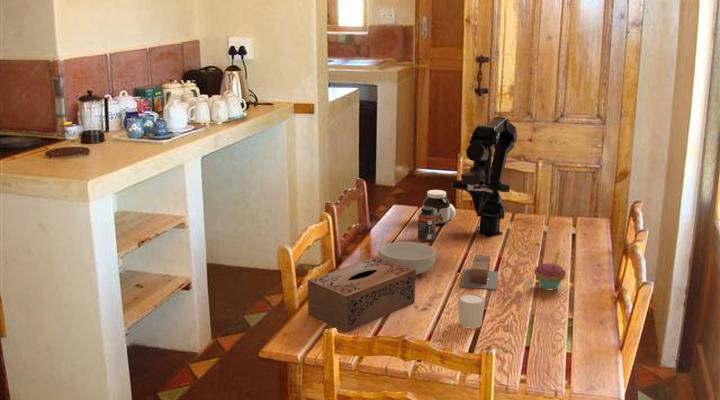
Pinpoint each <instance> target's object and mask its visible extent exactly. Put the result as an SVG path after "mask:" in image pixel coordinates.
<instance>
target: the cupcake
mask: <svg viewBox="0 0 720 400" xmlns="http://www.w3.org/2000/svg"><path fill="white" fill-rule="evenodd" d="M560 250H561V249H558V251H557V250H556V254H555V258H554V262H549V263H541V264H539V265H538V266H536V268H535V270H534V275H535V277H536V278H537V279H538V281H539V285H540V286H539V287H540V288H541V287H542V288H544V289H543V290H545V289H555V288H557V287H558V288H559V286H560V284H561V282H562V281H563V280H564V279H565V277H566V274H567V272H566V270H565V269H564V268H563V267H562V266H560V265H559V264H558V259H559V255H560ZM542 288H541V289H542ZM558 288H557V289H558Z"/></svg>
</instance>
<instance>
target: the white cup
mask: <svg viewBox="0 0 720 400" xmlns="http://www.w3.org/2000/svg"><path fill="white" fill-rule="evenodd" d="M457 301H458V302H457V304H458V306H457V307H458V323H459V324H460V325H462V326H465V327H470V328H475V329H476V330H477V329H479V328H480V327H481V326H482V322H483V318H484V317H483V316H484V310H485V304H486V303H485V302H486V299H485V298H484V297H483V296H481V295H478V294H476V293H464V294H461V295H459V296H458V297H457ZM460 325H459V326H460ZM462 326H461V327H462ZM475 329H474V330H475Z"/></svg>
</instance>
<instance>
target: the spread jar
mask: <svg viewBox="0 0 720 400" xmlns="http://www.w3.org/2000/svg"><path fill="white" fill-rule="evenodd" d="M425 206H429V207H433V213H434V214H435V215H436V227H440V226H444V225H445V224H447V223H448V222H449V220H451V219H453V218H454V217H455V216H456V208H455V207H454V205H453V204H452V203H450V200H449V199H448V198H447V191H445V190H441V189H431V190H428V191H427V195H426V198H425V199H424V200H423V202H422V207H425ZM422 207H421V208H422Z"/></svg>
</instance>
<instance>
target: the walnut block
mask: <svg viewBox="0 0 720 400" xmlns="http://www.w3.org/2000/svg"><path fill="white" fill-rule="evenodd" d="M490 260H491V255H484V254H483V255H482V254H474V257H473V261H472V266H471V269H472V270H471V283H476V284H487V279H488V274H489V271H490V265H491V263H490Z"/></svg>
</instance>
